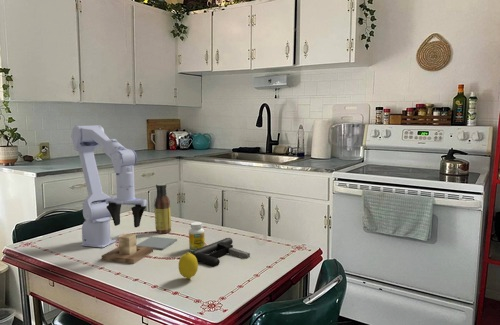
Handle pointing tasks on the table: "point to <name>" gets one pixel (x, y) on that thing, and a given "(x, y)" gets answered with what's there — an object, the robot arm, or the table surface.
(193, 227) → the supplement bottle
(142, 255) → the brown wooden square frame
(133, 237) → the beech block
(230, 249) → the toy gun
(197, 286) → the table surface
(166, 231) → the sauce bottle
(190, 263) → the lemon
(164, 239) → the grey square plate
